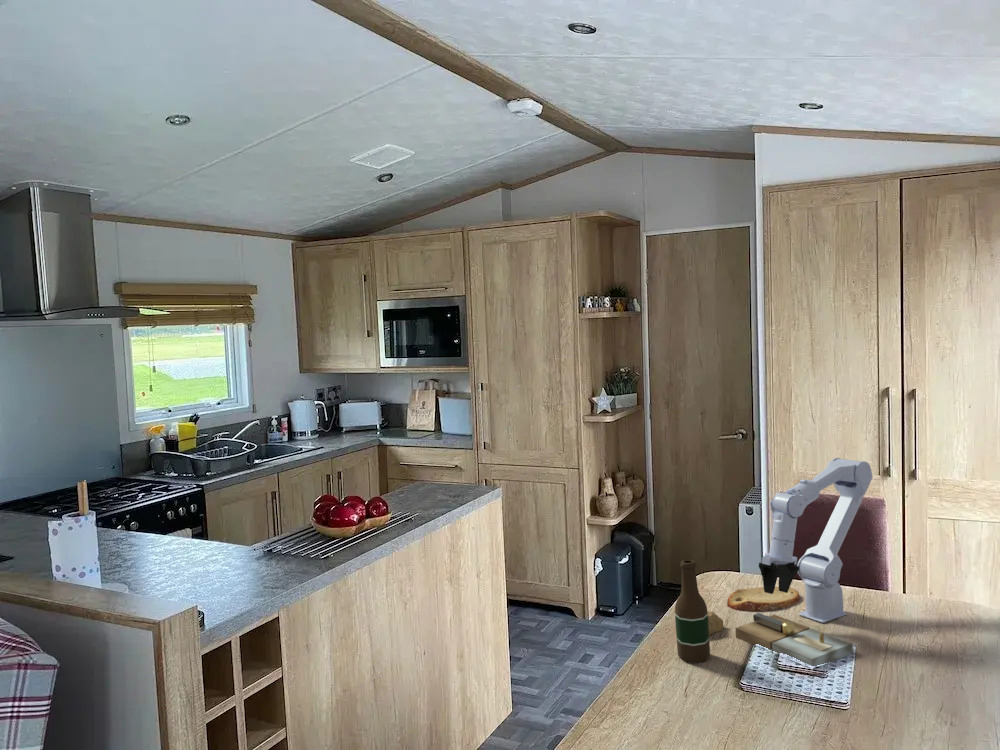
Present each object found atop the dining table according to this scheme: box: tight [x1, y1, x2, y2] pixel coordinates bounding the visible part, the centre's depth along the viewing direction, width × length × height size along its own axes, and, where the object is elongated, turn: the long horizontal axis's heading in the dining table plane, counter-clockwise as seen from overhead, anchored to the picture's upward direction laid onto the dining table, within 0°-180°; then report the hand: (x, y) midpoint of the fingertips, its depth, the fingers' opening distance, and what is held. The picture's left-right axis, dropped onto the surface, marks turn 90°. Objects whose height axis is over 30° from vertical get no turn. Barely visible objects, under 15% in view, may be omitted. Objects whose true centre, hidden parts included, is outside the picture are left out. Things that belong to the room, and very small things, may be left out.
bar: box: [752, 612, 795, 636], centre depth 205 cm, size 12×3×3 cm, turn 29°
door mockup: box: [735, 614, 854, 666], centre depth 200 cm, size 14×24×5 cm, turn 29°
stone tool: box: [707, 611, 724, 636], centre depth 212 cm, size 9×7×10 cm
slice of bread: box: [726, 586, 801, 612], centre depth 230 cm, size 18×18×4 cm
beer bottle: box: [674, 559, 711, 664], centre depth 197 cm, size 8×8×24 cm
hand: (775, 592), depth 208 cm, fingers open, 7 cm apart
